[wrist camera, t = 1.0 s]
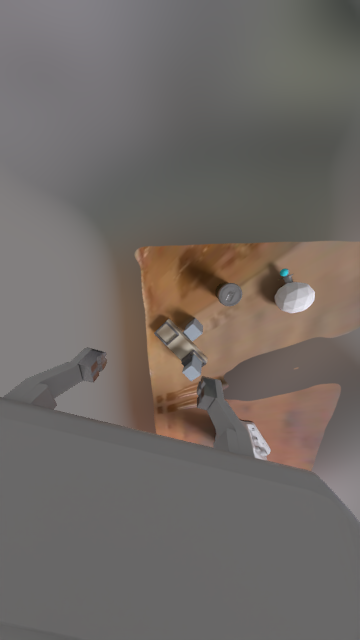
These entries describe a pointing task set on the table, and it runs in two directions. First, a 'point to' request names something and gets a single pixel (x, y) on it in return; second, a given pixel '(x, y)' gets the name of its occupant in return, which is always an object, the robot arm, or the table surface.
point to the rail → (178, 342)
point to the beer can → (229, 294)
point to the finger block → (193, 329)
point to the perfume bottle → (293, 295)
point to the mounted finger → (192, 366)
